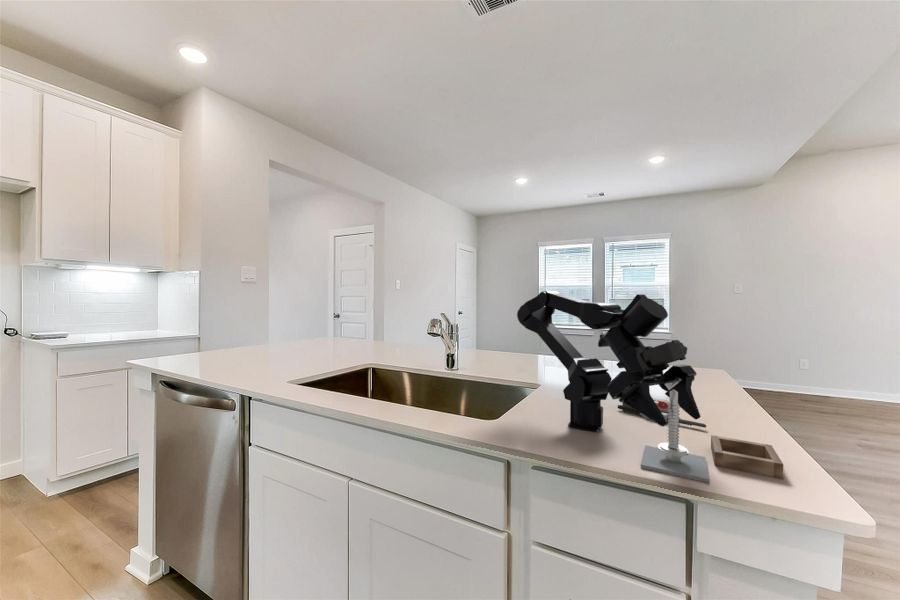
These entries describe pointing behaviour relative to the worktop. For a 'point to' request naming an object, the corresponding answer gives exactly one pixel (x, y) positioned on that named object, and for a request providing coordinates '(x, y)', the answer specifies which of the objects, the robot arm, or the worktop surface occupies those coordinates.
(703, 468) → the mat
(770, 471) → the square wooden frame
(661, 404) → the walkie-talkie
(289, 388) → the worktop surface
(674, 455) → the screw
